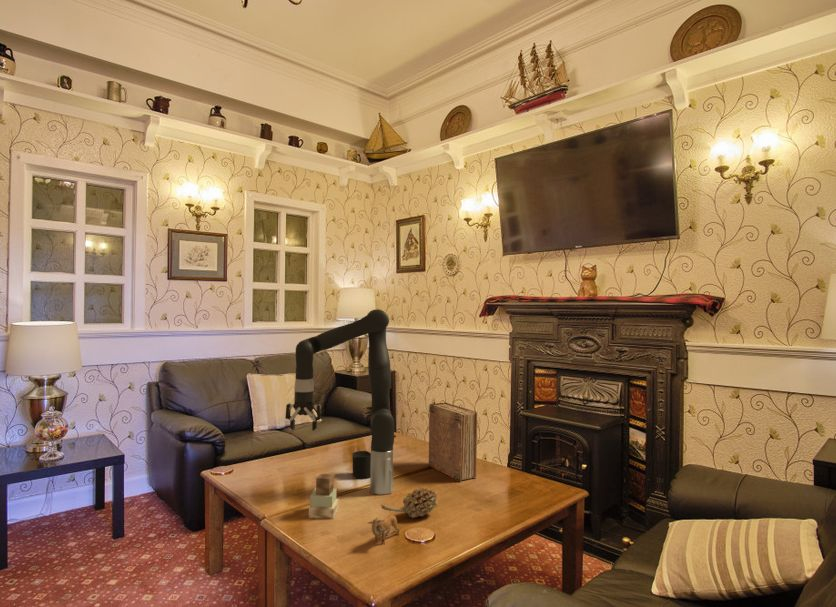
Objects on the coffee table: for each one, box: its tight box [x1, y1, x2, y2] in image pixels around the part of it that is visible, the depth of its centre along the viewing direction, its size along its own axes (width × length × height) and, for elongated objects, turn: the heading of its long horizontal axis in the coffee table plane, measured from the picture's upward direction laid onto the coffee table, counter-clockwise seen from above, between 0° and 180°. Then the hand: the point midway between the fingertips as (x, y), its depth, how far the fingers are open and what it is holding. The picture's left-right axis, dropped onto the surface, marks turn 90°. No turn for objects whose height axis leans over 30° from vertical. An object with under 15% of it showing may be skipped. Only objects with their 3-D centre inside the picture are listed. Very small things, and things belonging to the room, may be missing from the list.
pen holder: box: [351, 450, 371, 480], centre depth 226 cm, size 9×9×10 cm
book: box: [428, 402, 478, 483], centre depth 233 cm, size 25×9×30 cm, turn 32°
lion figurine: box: [371, 515, 401, 545], centre depth 165 cm, size 15×5×9 cm, turn 155°
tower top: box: [309, 487, 338, 508], centre depth 185 cm, size 8×8×4 cm
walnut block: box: [315, 473, 335, 496], centre depth 184 cm, size 5×5×6 cm
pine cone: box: [380, 487, 439, 519], centre depth 182 cm, size 22×10×10 cm, turn 115°
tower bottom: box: [308, 498, 340, 520], centre depth 185 cm, size 9×9×4 cm
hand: (303, 429), depth 202 cm, fingers open, 8 cm apart
